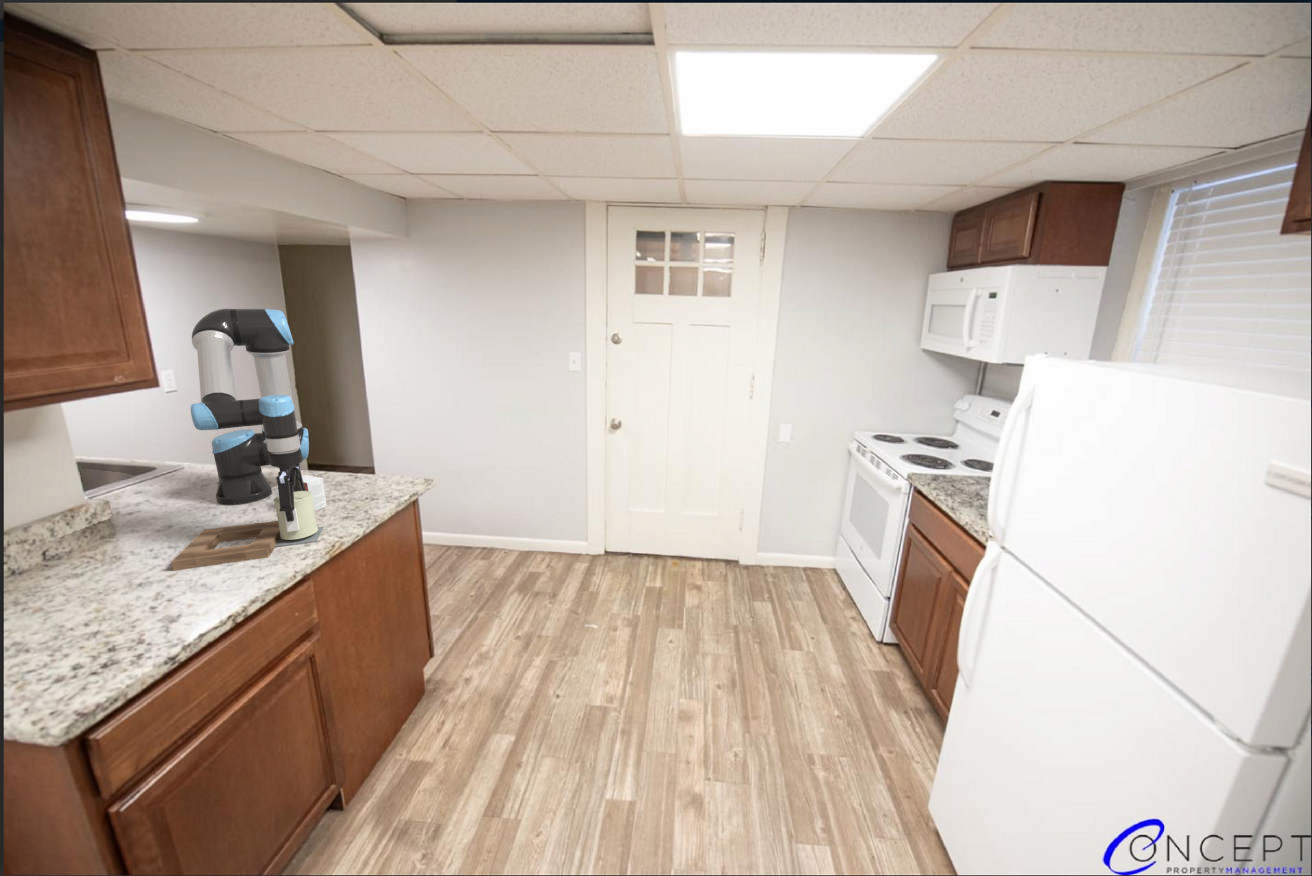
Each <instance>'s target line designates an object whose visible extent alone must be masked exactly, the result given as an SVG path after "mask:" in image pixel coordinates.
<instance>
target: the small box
mask: <svg viewBox="0 0 1312 876" xmlns="http://www.w3.org/2000/svg"><path fill="white" fill-rule="evenodd" d="M302 479H303V483H304V487H305V491H308V492H311V493H312V499H313V506H314V512H316V511H318V510H321V509H324V508H327V506H328V505H327V499H326V491H325V484H324V478H323V477H319V476H312V475H308V474H305V475H302Z"/></svg>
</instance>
